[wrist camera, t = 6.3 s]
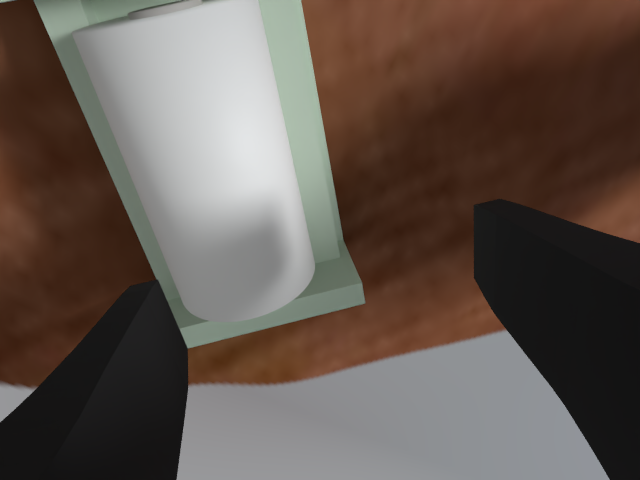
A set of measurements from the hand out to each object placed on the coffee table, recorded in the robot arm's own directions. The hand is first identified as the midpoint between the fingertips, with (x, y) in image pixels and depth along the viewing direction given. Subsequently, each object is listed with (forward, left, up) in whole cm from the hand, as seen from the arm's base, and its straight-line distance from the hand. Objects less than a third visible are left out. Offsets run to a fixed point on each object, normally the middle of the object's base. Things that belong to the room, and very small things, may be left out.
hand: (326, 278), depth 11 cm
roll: (+2, -1, -6) cm, 7 cm away
